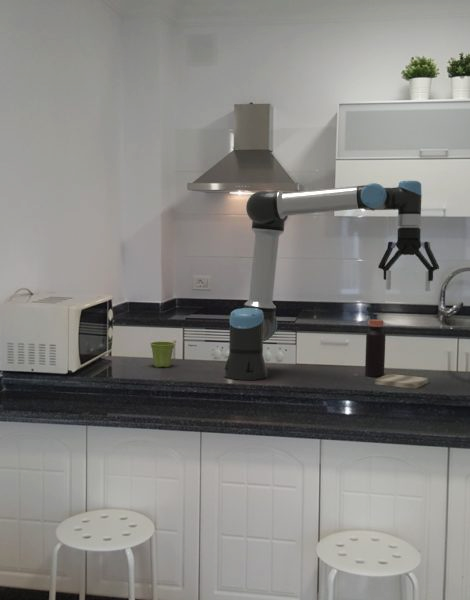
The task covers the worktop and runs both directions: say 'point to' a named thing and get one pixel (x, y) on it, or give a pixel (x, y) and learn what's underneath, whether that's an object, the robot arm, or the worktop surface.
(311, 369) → the worktop surface
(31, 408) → the worktop surface
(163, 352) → the plant pot
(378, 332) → the vinegar
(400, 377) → the birch board
